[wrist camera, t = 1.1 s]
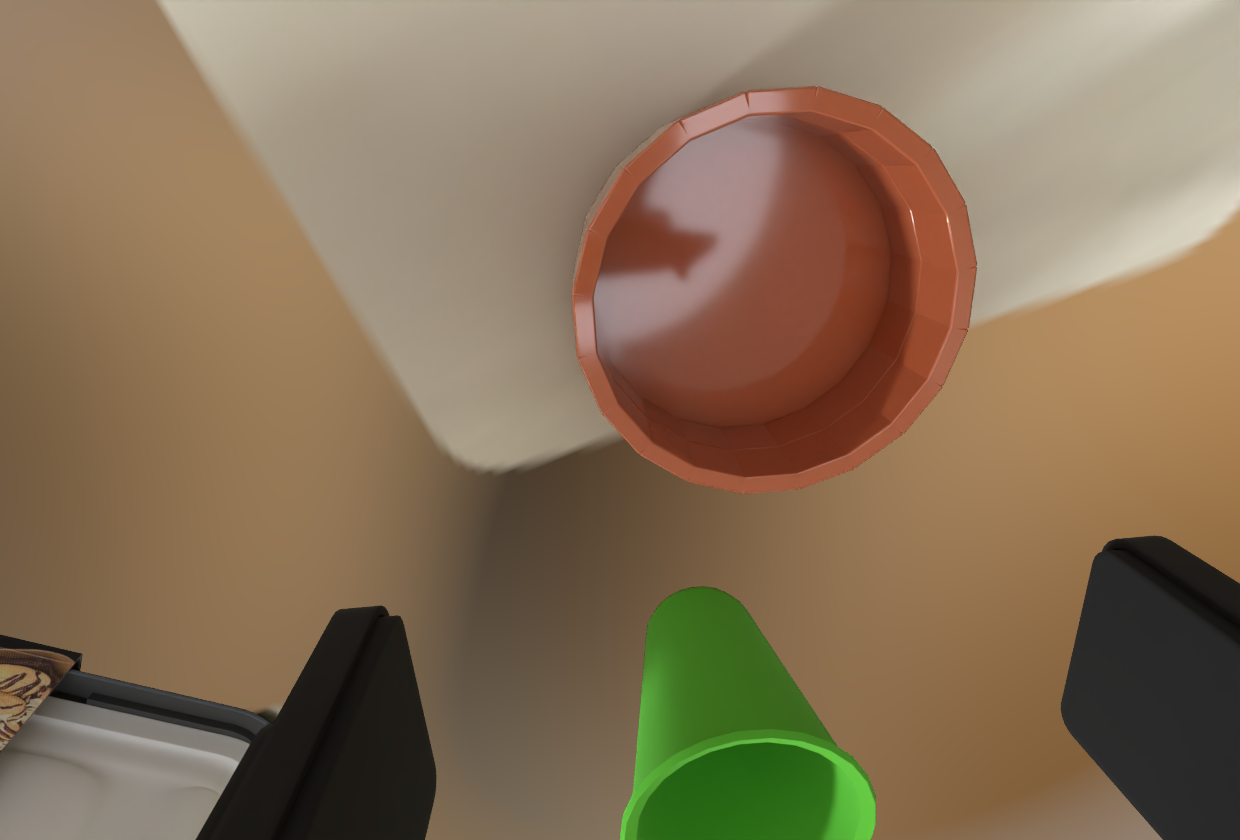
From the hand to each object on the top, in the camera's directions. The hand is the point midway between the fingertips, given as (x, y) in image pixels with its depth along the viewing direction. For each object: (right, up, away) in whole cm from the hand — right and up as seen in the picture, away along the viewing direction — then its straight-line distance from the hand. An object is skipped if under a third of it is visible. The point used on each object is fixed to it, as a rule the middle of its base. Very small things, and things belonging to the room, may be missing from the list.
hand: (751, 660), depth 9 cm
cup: (+2, -7, +24) cm, 25 cm away
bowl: (+3, +9, +18) cm, 20 cm away
